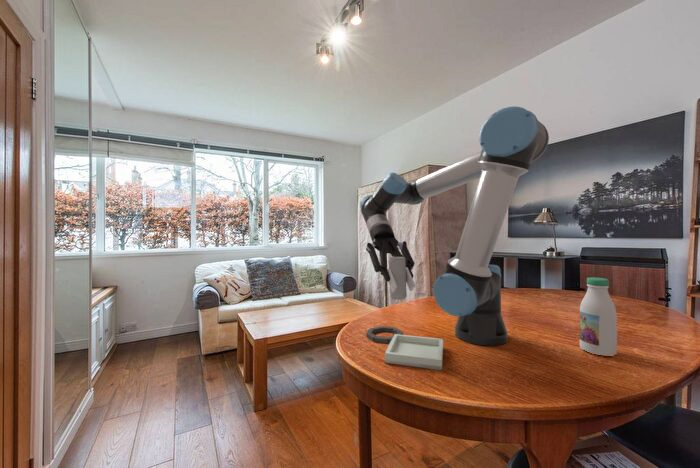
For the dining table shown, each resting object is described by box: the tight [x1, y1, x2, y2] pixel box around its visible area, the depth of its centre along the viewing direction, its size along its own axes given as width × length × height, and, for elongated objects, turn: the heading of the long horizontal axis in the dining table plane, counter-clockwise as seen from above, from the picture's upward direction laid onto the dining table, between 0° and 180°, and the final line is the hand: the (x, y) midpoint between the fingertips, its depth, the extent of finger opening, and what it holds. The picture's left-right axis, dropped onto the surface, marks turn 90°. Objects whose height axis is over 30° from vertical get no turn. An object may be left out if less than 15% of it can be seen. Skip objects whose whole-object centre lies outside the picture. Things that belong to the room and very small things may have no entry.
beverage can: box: [388, 256, 407, 301], centre depth 85 cm, size 5×5×12 cm
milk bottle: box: [579, 276, 618, 355], centre depth 79 cm, size 8×8×20 cm
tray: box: [384, 333, 444, 371], centre depth 79 cm, size 14×14×2 cm
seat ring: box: [365, 325, 404, 344], centre depth 93 cm, size 11×11×1 cm
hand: (403, 288), depth 81 cm, fingers closed on beverage can, 5 cm apart
